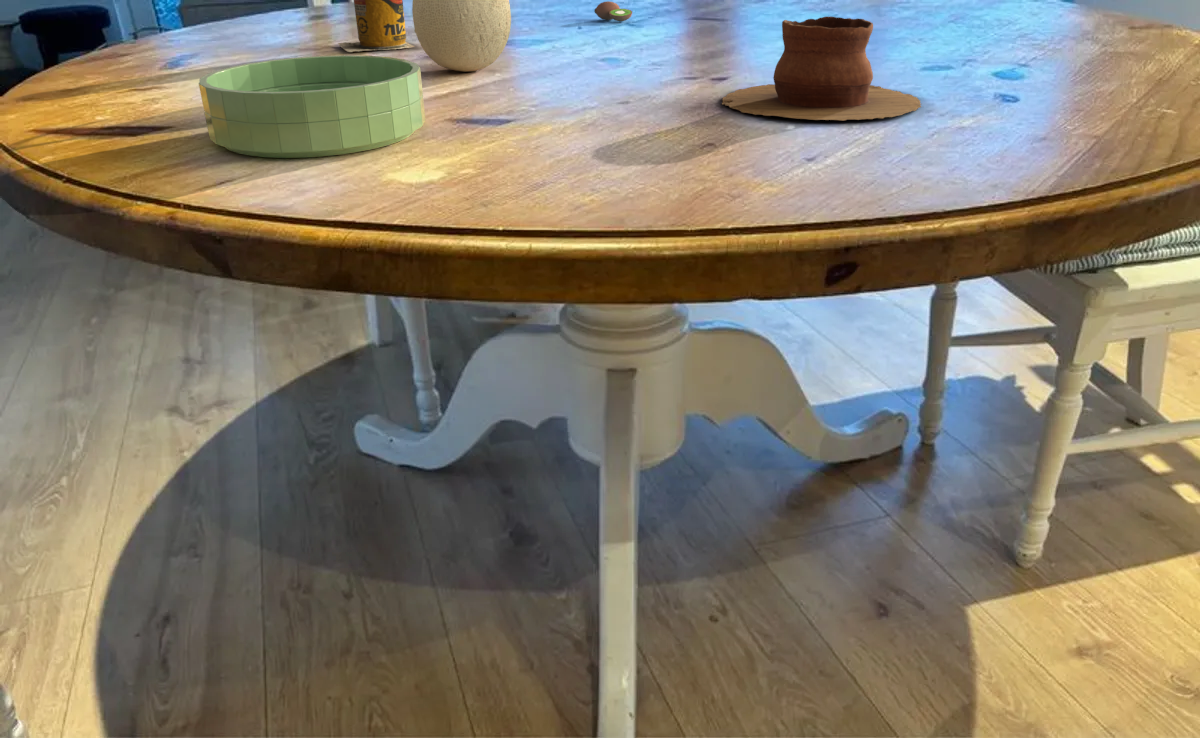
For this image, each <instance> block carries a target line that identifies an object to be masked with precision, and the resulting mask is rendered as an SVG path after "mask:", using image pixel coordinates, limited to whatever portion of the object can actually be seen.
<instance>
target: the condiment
mask: <svg viewBox="0 0 1200 738" xmlns="http://www.w3.org/2000/svg"><path fill="white" fill-rule="evenodd" d="M353 7H354V13H355V23H356V28H357V38H358V41H356V42H348V41H347V42H338V43H337V44H338V46H339V47H340V48H341V49H343V50H344V51H346V52H347V53H353V52H363V51H388V50H401V49H410V48H415V47H416V45H414V44H411V43H409V42H408V41H406V40H407V33H406V32H407V31H406V20H405V11H404V2H403V0H353Z"/></svg>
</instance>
